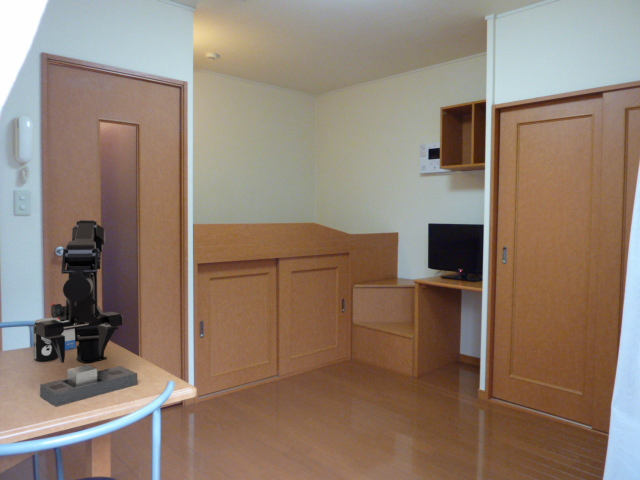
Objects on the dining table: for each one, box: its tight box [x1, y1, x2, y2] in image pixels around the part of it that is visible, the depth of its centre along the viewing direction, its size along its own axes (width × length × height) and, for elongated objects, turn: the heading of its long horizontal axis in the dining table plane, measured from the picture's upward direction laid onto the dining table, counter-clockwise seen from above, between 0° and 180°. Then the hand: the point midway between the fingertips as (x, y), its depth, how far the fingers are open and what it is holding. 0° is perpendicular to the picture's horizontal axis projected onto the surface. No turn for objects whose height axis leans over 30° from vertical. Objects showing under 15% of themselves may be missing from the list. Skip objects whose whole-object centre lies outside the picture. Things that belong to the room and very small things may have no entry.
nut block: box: [66, 364, 98, 388], centre depth 120 cm, size 5×5×6 cm
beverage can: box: [32, 317, 59, 363], centre depth 147 cm, size 7×7×12 cm
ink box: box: [51, 302, 77, 351], centre depth 160 cm, size 8×5×15 cm, turn 47°
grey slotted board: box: [39, 365, 138, 407], centre depth 121 cm, size 20×9×3 cm, turn 140°
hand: (82, 358), depth 119 cm, fingers open, 9 cm apart
